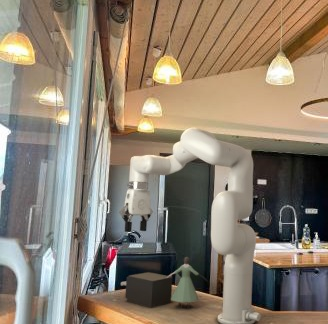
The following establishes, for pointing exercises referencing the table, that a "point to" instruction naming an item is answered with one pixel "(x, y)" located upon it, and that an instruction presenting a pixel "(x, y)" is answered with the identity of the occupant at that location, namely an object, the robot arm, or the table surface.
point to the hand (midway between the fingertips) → (135, 231)
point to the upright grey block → (149, 289)
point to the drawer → (126, 286)
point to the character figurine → (185, 285)
